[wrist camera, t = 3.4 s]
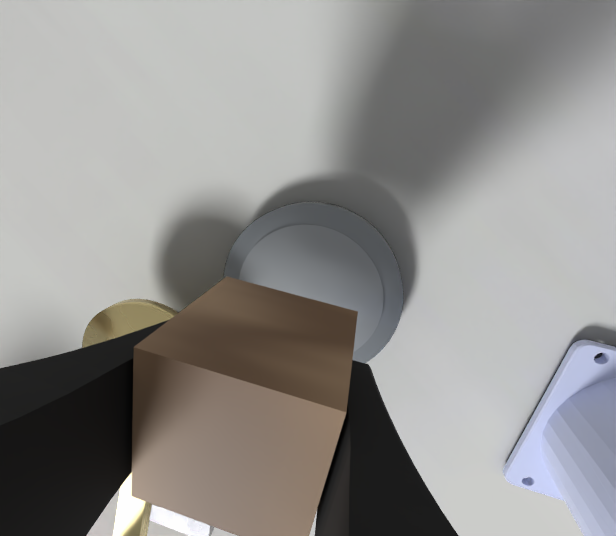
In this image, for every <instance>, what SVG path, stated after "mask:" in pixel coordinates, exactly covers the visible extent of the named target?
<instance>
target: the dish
mask: <svg viewBox="0 0 616 536" xmlns="http://www.w3.org/2000/svg"><path fill="white" fill-rule="evenodd" d="M226 276H227V277H231V278H235V279H238V280H242V281H246V282H250V283H253V284H257V285H261V286H265V287H268V288H272V289H276V290H280V291H283V292H287V293H291V294H295V295H298V296H302V297H306V298H309V299H313V300H317V301H321V302H324V303H328V304H332V305H336V306H339V307H343V308H347V309H351V310H354V311H358V315H357V324H356V333H355V342H354V350H353V359H352V360H354V361H358V362H361V363H366V362H367V361H369V360H370V359H372V358H373V357H375V356H376V355H377V354H378V353H379V352H380V351H381V350H382V349H383V348H384V347H385V345H386V344H387V343H388V342H389V341H390V339H391V337H392V336H393V334H394V332H395V330H396V328H397V325H398V323H399V320H400V316H401V312H402V306H403V285H402V280H401V275H400V270H399V266H398V263H397V261H396V258H395V255H394V253H393V251H392V249H391V247H390V246H389V244H388V243H387V241H386V240H385V238H384V237H383V236H382V235H381V233H380V232H379V231H378V230H377V229H376V228H375V227H374V226H373V225H372V224H370V223H369V222H368V221H367V220H365V219H364V218H362V217H361V216H359V215H358V214H356V213H354V212H352V211H350V210H348V209H346V208H343V207H340V206H337V205H333V204H329V203H323V202H300V203H293V204H290V205H286V206H283V207H280V208H278V209H275V210H273V211H271V212H269V213H267V214H265V215H263V216H261V217H260V218H258V219H256V220H255V221H254V222H253V223H251V224H250V225H249V226H248V227H247V228H246V229H245V230H244V231H243V232H242V233H241V234H240V236H239V237H238V238H237V240H236V241H235V243H234V244H233V246H232V248H231V250H230V252H229V255H228V258H227V261H226V264H225V270H224V278H225V277H226Z"/></svg>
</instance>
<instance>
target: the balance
mask: <svg viewBox="0 0 616 536" xmlns="http://www.w3.org/2000/svg"><path fill="white" fill-rule="evenodd" d="M177 314H178V312H177V311H175V310H173V309H172V308H170V307H168V306H165V305H163V304H160V303H158V302H155V301H150V300H144V299H129V300H125V301H121V302H118V303H116V304H114V305H112V306H110V307H108V308H106V309H105V310H103V311H101V312H100V313H98V314H97V315H96V316H95V317H94V318H93V319H92V320H91V321H90V322H89V324H88V326H87V328H86V330H85V333H84V337H83V342H82V348H84V347H87V346H91V345H94V344H97V343H101V342H104V341H107V340H111V339H114V338H117V337H120V336H123V335H126V334H129V333H132V332H135V331H138V330H141V329H144V328H147V327H150V326H152V325H155V324H158V323H161V322H164V321H167V320H170V319H171V318H173V317H174V316H175V315H177ZM131 482H132V473H131V474H130V475H129V476H128V477H127V479H126V480H125V481H124V483H123V484H122V485H121V487H120V493H119V500H118V507H117V513H116V520H115V527H114V533H113V536H147V531H148V525H149V520H150V521H153V522H155V523H158V524H161V525H163V526H166V527H169V528H171V529H174V530H177V531H179V532H182V533H185V534H187V535H190V536H211V534H212V532H213V529H214V527H213V526H211V525H208V524H205V523H202V522H200V521H197V520H194V519H192V518H189V517H186V516H183V515H181V514H178V513H175V512H172V511H170V510H167V509H164V508H162V507H159V506H156V505H153V504H151V503H148V502H145V501H143V500H140V499H137V498H134V497H132V496H131Z"/></svg>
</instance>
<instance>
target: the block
mask: <svg viewBox="0 0 616 536" xmlns="http://www.w3.org/2000/svg"><path fill="white" fill-rule="evenodd" d="M357 315H358V311H354V310H351V309H347V308H343V307H339V306H336V305H332V304H328V303H324V302H321V301H317V300H313V299H309V298H306V297H302V296H298V295H295V294H291V293H287V292H283V291H280V290H276V289H272V288H268V287H265V286H261V285H257V284H253V283H250V282H246V281H242V280H238V279H235V278H231V277H227V276H226V277H225V278H224V279H222V280H221V281H220V282H219V283H217V284H216V285H215V286H213V287H212V288H211V289H209V290H208V291H207V292H205V293H204V294H203V295H201V296H200V297H199V298H198V299H196V300H195V301H194V302H192V303H191V304H190V305H188V306H187V307H186V308H184V309H183V310H182V311H180V312H179V313H178V314H177V315H175V316H174V317H173V318H171V319H170V320H169V321H167V322H166V323H165V324H163V325H162V326H161V327H159V328H158V329H157V330H156V331H154V332H153V333H152V334H150V335H149V336H148V337H146V338H145V339H144V340H142V341H141V342H140V343H138V344H137V345H136V346H135V347H134V358H133V420H132V482H131V496H132V497H134V498H137V499H140V500H143V501H145V502H148V503H151V504H153V505H156V506H159V507H162V508H164V509H167V510H170V511H172V512H175V513H178V514H181V515H183V516H186V517H189V518H192V519H194V520H197V521H200V522H202V523H205V524H208V525H211V526H213V527H216V528H219V529H221V530H224V531H227V532H230V533H232V534H235V535H238V536H309V534H310V531H311V527H312V524H313V521H314V518H315V514H316V511H317V508H318V504H319V501H320V498H321V495H322V491H323V488H324V485H325V481H326V478H327V475H328V471H329V468H330V465H331V462H332V458H333V455H334V452H335V448H336V445H337V442H338V439H339V435H340V432H341V429H342V425H343V422H344V419H345V415H346V412H347V403H348V394H349V386H350V377H351V368H352V359H353V350H354V342H355V333H356V324H357Z"/></svg>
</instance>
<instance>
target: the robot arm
mask: <svg viewBox="0 0 616 536" xmlns="http://www.w3.org/2000/svg"><path fill="white" fill-rule="evenodd" d="M167 321H169V320H167ZM167 321H164V322H161V323H158V324H155V325H152V326H150V327H147V328H144V329H141V330H138V331H135V332H132V333H129V334H126V335H123V336H120V337H117V338H114V339H111V340H107V341H104V342H101V343H97V344H94V345H91V346H87V347H84V348H81V349H77V350H74V351H71V352H67V353H63V354H60V355H56V356H52V357H48V358H44V359H40V360H35V361H31V362H27V363H22V364H18V365H14V366H9V367H4V368H0V536H86V535H87V533H88V532H89V531H90V529H91V528H92V526H93V525H94V523H95V522H96V520H97V519H98V517H99V516H100V514H101V513H102V512H103V510H104V509H105V507H106V506H107V504H108V503H109V501H110V500H111V498H112V497H113V496H114V494H115V493H116V492H117V490H118V489H119V488H120V486H121V485H122V484H123V483H124V481H125V480H126V479H127V477H128V476H129V475H130V474H131V473H132V420H133V358H134V347H135V346H136V345H137V344H138V343H140V342H141V341H142V340H144V339H145V338H146V337H148V336H149V335H150V334H152V333H153V332H154V331H156V330H157V329H158V328H159V327H161V326H162V325H163V324H165V323H166V322H167ZM599 353H603V355H602V356H601V357H600V358H597V359H594V357H595V356H596V355H597V354H599ZM503 474H504V476H505V479H506V480H507V481H508V482H509V483H510V484H513V485H516V486H519V487H522V488H525V489H528V490H532V491H535V492H538V493H541V494H544V495H548V496H551V497H554V498H557V499H560V500H563V501H565V503H566V505H567V506H568V508H569V510H570V512H571V514H572V515H573V517H574V519H575V521H576V523H577V524H578V526H579V528H580V530H581V532H582V533H583V535H584V536H616V347H614V346H610V345H606V344H602V343H598V342H594V341H591V340H580V341H577V342H575V343H573V345H572V346H571V347H570V349H569V350H568V352H567V354H566V356H565V358H564V359H563V361H562V363H561V365H560V367H559V368H558V370H557V372H556V374H555V376H554V378H553V379H552V381H551V383H550V385H549V387H548V388H547V390H546V392H545V394H544V396H543V397H542V399H541V401H540V403H539V405H538V407H537V408H536V410H535V412H534V414H533V416H532V417H531V419H530V421H529V423H528V425H527V426H526V428H525V430H524V432H523V434H522V436H521V437H520V439H519V441H518V443H517V445H516V446H515V448H514V450H513V452H512V454H511V455H510V457H509V459H508V461H507V463H506V465H505V466H504V468H503ZM526 477H528V478H526ZM315 536H458V534H457V533H456V531H455V530H454V529H453V527H452V526H451V524H450V523H449V521H448V520H447V518H446V517H445V515H444V514H443V512H442V511H441V509H440V507H439V506H438V504H437V503H436V501H435V499H434V498H433V496H432V495H431V493H430V491H429V490H428V488H427V486H426V485H425V483H424V481H423V480H422V478H421V476H420V474H419V473H418V471H417V469H416V467H415V466H414V464H413V462H412V460H411V458H410V456H409V454H408V453H407V451H406V449H405V447H404V445H403V443H402V441H401V439H400V437H399V435H398V433H397V431H396V429H395V427H394V424H393V422H392V420H391V418H390V416H389V414H388V411H387V409H386V407H385V405H384V402H383V400H382V397H381V395H380V392H379V390H378V387H377V385H376V382H375V379H374V376H373V373H372V370H371V368H370V366H369V365H368V364H365V363H361V362H358V361H354V360H352V368H351V377H350V386H349V394H348V403H347V412H346V415H345V419H344V422H343V425H342V429H341V432H340V435H339V439H338V442H337V445H336V448H335V452H334V455H333V458H332V462H331V465H330V468H329V471H328V475H327V478H326V481H325V485H324V488H323V491H322V495H321V498H320V501H319V504H318V508H317V519H316V529H315Z"/></svg>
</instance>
